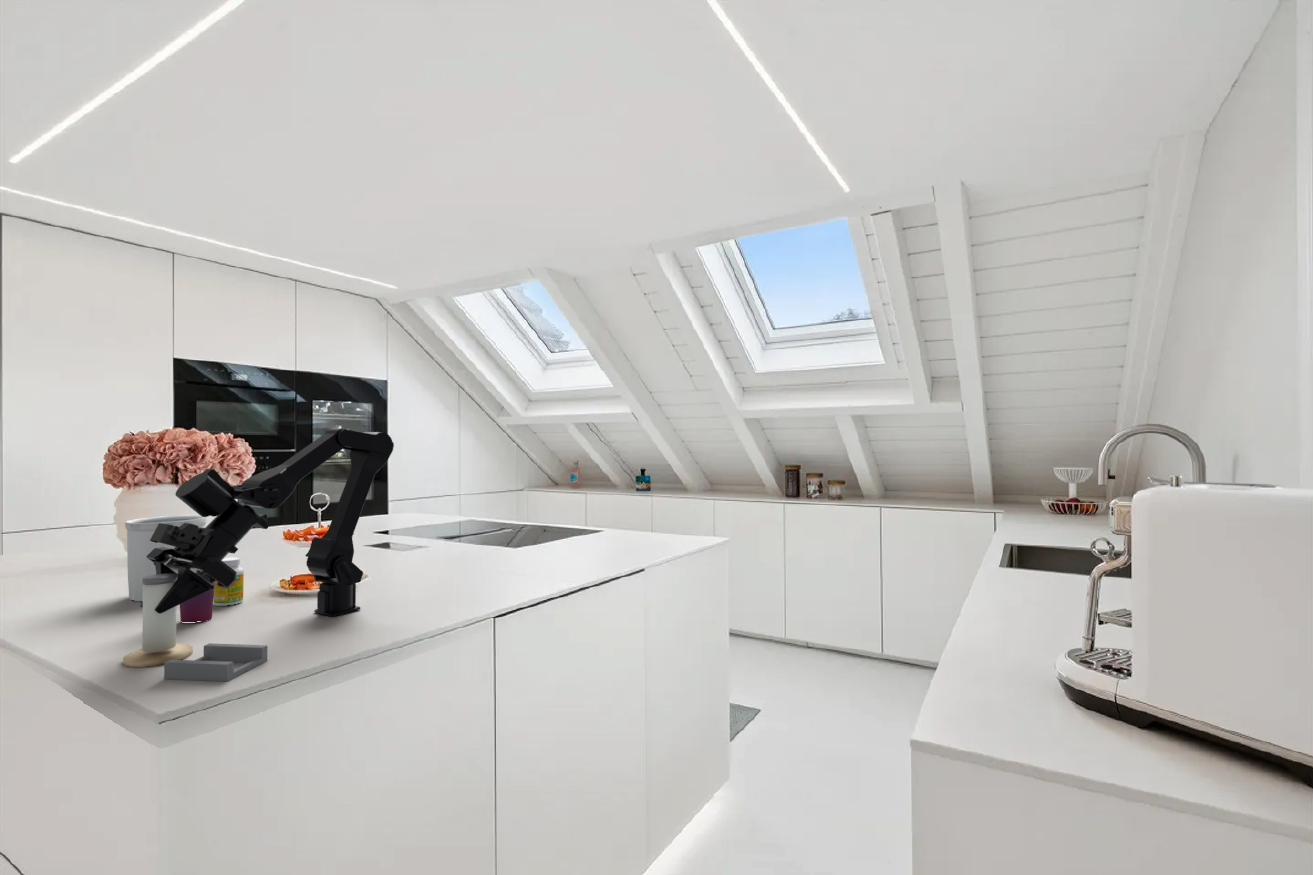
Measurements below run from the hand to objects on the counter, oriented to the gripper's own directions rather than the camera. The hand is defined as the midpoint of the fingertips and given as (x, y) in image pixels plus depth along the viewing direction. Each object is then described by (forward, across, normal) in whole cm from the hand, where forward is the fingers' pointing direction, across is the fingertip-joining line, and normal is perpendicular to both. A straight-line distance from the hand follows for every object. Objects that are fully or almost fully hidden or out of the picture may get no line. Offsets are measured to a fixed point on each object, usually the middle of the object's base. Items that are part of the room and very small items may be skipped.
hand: (149, 610), depth 103 cm
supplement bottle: (-12, -26, +24) cm, 37 cm away
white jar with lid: (+4, 0, +6) cm, 7 cm away
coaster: (+5, 0, +7) cm, 8 cm away
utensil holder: (-10, -46, +22) cm, 52 cm away
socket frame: (+4, +14, +8) cm, 17 cm away
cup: (-5, -18, +17) cm, 25 cm away
